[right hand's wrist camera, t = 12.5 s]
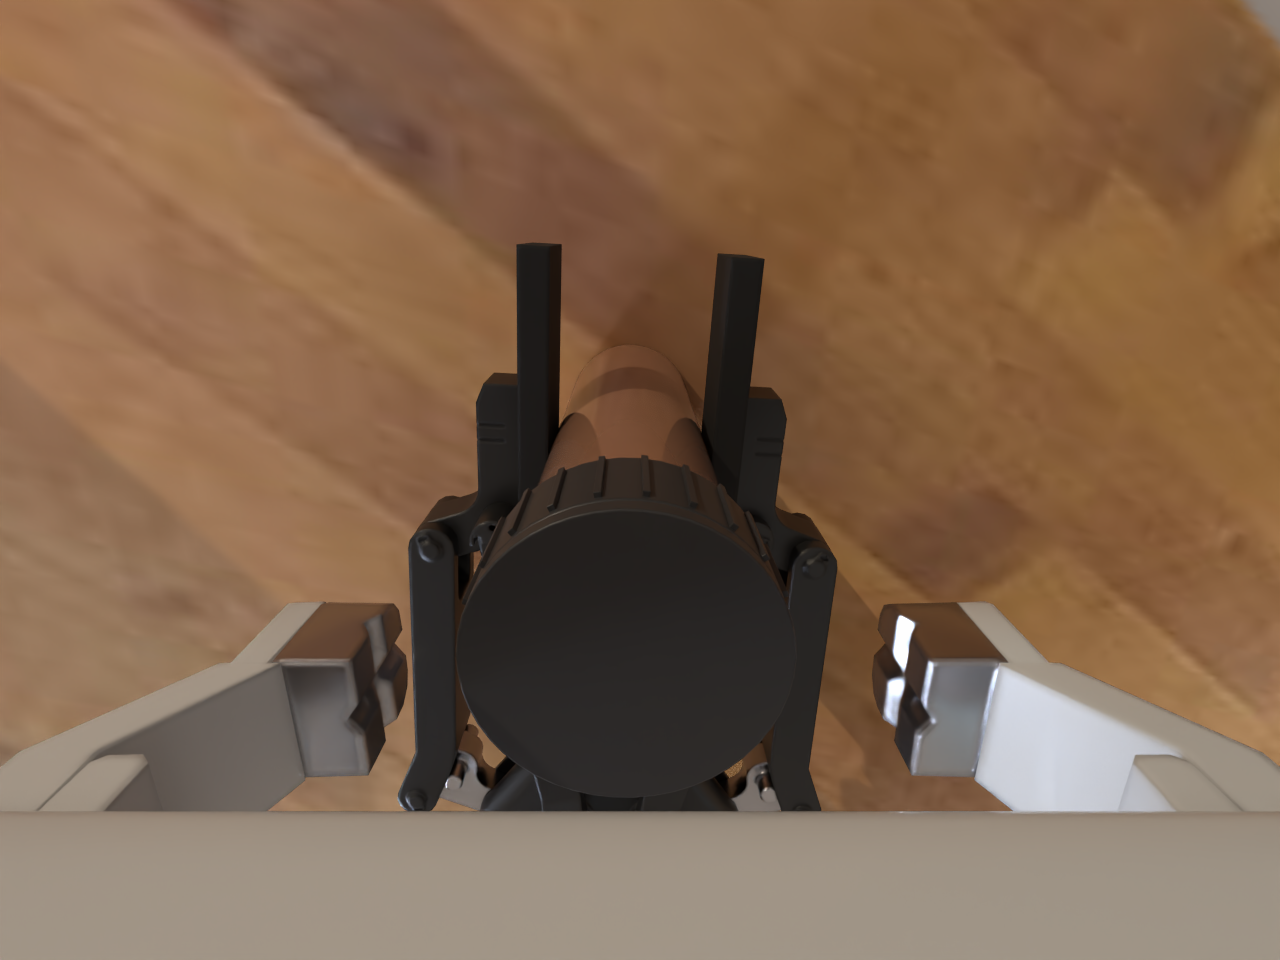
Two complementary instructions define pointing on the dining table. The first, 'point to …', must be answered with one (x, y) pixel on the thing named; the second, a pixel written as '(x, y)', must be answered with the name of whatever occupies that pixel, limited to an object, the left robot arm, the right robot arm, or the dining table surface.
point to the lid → (626, 631)
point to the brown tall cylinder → (629, 414)
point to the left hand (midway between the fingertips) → (640, 252)
